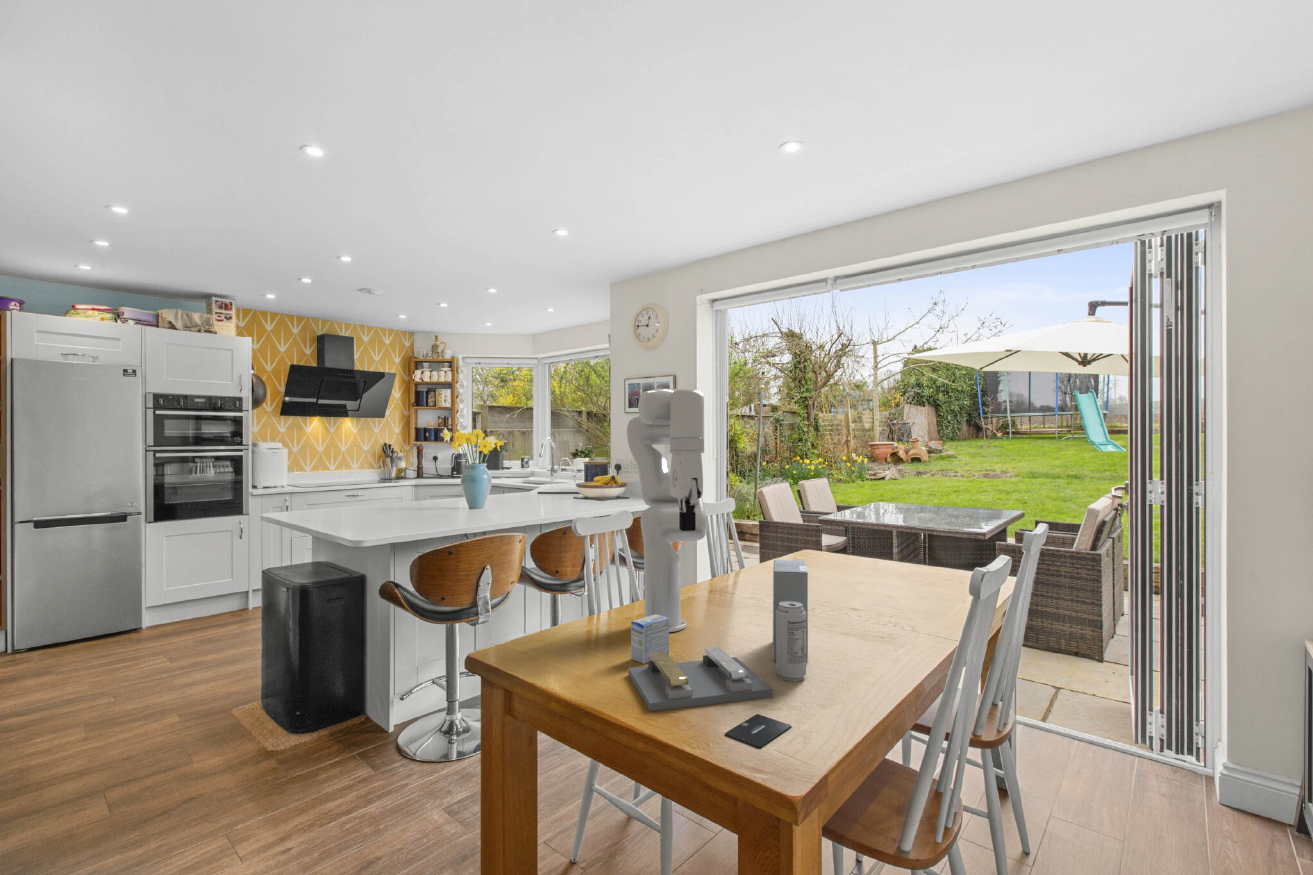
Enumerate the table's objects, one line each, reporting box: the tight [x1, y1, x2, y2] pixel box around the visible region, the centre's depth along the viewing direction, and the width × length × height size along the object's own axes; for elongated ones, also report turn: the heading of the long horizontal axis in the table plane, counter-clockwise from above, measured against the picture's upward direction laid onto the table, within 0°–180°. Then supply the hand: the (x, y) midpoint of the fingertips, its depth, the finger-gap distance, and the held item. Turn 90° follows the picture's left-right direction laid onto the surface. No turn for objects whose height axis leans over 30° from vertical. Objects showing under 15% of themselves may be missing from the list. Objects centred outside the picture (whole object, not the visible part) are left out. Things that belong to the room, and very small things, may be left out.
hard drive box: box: [772, 559, 809, 664], centre depth 141 cm, size 16×8×20 cm, turn 168°
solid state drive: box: [724, 713, 792, 750], centre depth 102 cm, size 7×10×1 cm
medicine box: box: [630, 614, 670, 665], centre depth 138 cm, size 8×4×9 cm, turn 135°
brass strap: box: [650, 651, 688, 687], centre depth 120 cm, size 16×3×2 cm, turn 15°
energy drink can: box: [775, 601, 807, 683], centre depth 126 cm, size 6×6×15 cm
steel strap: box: [704, 646, 749, 680], centre depth 123 cm, size 16×3×2 cm, turn 15°
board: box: [628, 654, 774, 713], centre depth 122 cm, size 18×24×3 cm
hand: (687, 530), depth 134 cm, fingers closed
